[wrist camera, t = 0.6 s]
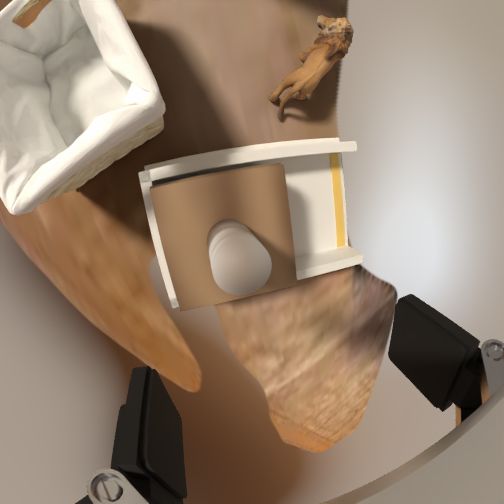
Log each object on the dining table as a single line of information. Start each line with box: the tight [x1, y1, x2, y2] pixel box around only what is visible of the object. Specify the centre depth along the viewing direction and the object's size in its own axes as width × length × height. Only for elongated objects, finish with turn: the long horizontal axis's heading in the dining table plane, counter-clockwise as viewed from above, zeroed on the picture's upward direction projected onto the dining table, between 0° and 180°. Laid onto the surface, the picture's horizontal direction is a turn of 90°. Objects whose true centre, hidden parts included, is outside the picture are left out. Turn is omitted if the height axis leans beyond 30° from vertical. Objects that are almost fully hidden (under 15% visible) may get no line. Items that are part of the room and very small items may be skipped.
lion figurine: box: [269, 15, 353, 119], centre depth 25 cm, size 15×5×9 cm, turn 156°
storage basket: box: [0, 0, 166, 215], centre depth 18 cm, size 24×16×15 cm
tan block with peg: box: [149, 163, 297, 311], centre depth 25 cm, size 12×12×15 cm
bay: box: [138, 138, 363, 308], centre depth 32 cm, size 25×17×5 cm
